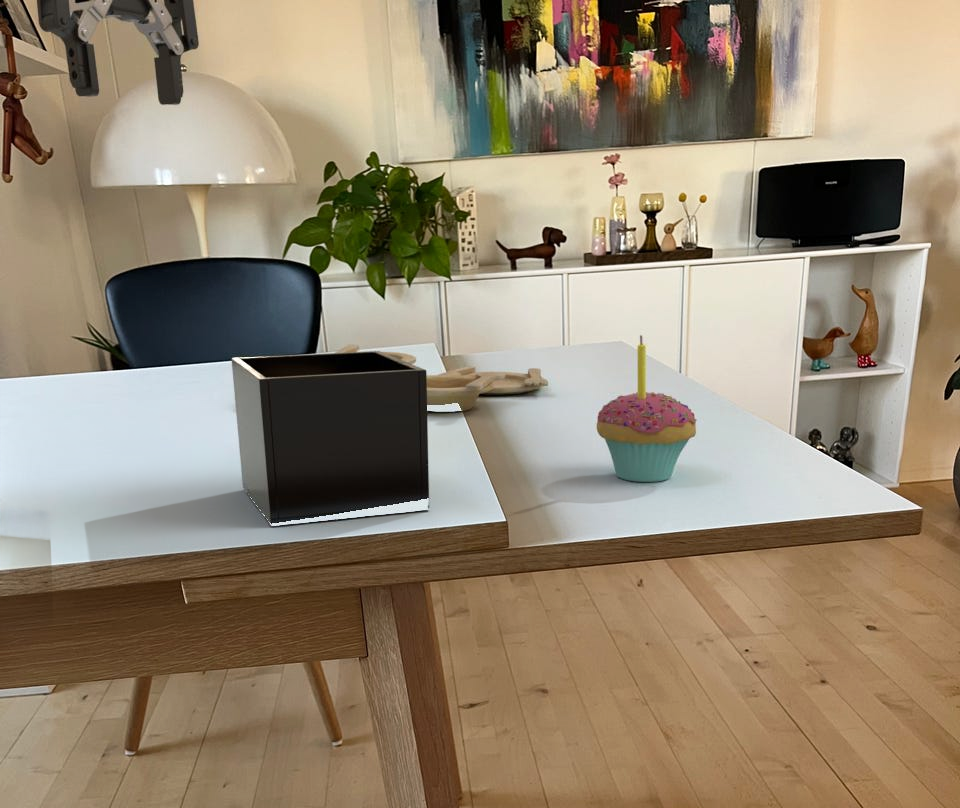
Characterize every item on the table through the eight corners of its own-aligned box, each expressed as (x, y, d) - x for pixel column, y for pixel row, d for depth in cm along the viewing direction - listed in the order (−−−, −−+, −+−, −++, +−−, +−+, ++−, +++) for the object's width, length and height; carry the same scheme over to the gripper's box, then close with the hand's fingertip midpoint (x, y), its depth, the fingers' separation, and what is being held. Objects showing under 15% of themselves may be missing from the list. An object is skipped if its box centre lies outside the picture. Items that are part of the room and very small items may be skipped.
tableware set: (221, 407, 123) (218, 371, 121) (326, 372, 149) (325, 343, 147) (509, 423, 113) (509, 385, 112) (567, 383, 139) (568, 352, 138)
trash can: (271, 527, 76) (259, 379, 72) (242, 489, 87) (231, 358, 82) (429, 511, 80) (426, 369, 76) (384, 476, 91) (379, 350, 87)
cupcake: (672, 492, 85) (682, 340, 81) (577, 480, 89) (582, 335, 85) (704, 471, 92) (716, 330, 88) (615, 460, 96) (621, 325, 91)
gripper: (54, -161, 76) (87, 90, 82) (205, -115, 86) (224, 104, 93) (-6, -142, 80) (30, 96, 86) (146, -100, 90) (167, 109, 97)
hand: (130, 100), depth 89 cm, fingers open, 8 cm apart
